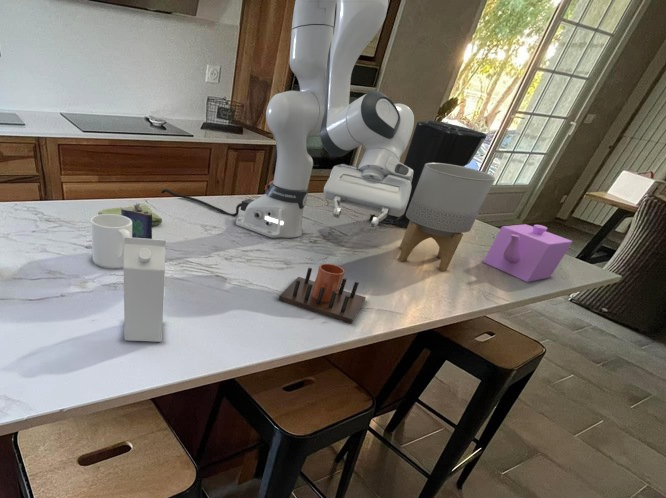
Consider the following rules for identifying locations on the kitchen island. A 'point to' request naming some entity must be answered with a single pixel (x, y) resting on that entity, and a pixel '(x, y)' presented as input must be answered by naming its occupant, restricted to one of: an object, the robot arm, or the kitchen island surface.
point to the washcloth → (155, 218)
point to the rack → (338, 309)
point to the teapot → (527, 251)
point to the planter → (444, 208)
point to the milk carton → (143, 288)
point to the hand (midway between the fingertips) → (354, 221)
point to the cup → (328, 281)
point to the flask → (139, 221)
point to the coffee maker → (436, 154)
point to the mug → (109, 239)
